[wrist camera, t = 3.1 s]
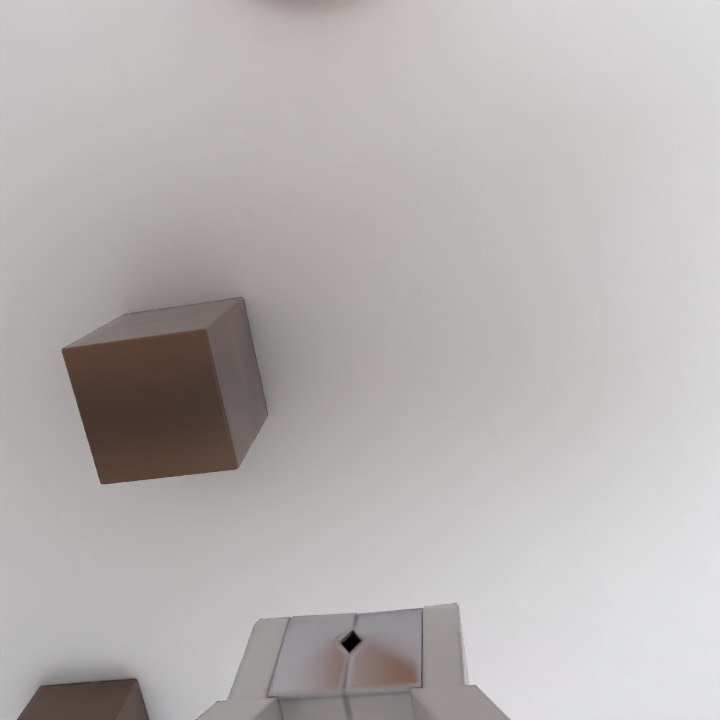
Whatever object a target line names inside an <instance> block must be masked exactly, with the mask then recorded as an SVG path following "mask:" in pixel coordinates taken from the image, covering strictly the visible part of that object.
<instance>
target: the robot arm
mask: <svg viewBox="0 0 720 720" xmlns="http://www.w3.org/2000/svg"><path fill="white" fill-rule="evenodd" d="M196 720H510V719H509V718H508V717H507V716H506V715H505V714H504V713H503V712H502V711H501V710H500V709H499V708H498V707H497V706H496V705H495V704H494V703H493V702H492V701H491V700H490V699H489V698H488V697H487V696H486V695H485V694H484V693H483V692H482V691H481V690H480V689H479V688H478V687H477V686H476V685H469V677H468V670H467V662H466V655H465V647H464V640H463V632H462V625H461V617H460V611H459V606H458V605H457V603H452V604H443V605H434V606H425V607H424V608H417V609H405V610H393V611H381V612H369V613H358V614H357V613H346V614H329V615H311V616H293V617H292V618H291V617H280V618H267V619H260V620H258V621H257V622H256V623H255V625H254V626H253V629H252V632H251V635H250V638H249V640H248V643H247V646H246V649H245V652H244V655H243V657H242V660H241V663H240V666H239V669H238V671H237V674H236V677H235V680H234V683H233V685H232V688H231V691H230V694H229V697H228V700H227V701H217V702H216V703H215V704H214V705H212V706H211V707H210V708H209V709H208V710H207V711H205V712H204V713H203V714H202V715H201V716H200V717H198V718H197V719H196Z"/></svg>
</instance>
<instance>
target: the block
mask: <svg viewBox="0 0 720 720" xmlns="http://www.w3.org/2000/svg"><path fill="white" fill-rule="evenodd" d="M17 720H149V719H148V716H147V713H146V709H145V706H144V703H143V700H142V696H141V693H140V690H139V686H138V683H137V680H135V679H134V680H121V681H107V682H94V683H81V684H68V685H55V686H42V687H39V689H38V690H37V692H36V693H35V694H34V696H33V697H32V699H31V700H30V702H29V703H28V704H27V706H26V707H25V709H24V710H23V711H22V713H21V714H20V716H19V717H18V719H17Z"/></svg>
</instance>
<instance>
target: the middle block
mask: <svg viewBox="0 0 720 720" xmlns="http://www.w3.org/2000/svg"><path fill="white" fill-rule="evenodd" d="M62 354H63V357H64V361H65V364H66V367H67V371H68V374H69V378H70V381H71V384H72V388H73V391H74V395H75V398H76V401H77V405H78V408H79V412H80V415H81V418H82V422H83V425H84V429H85V432H86V435H87V439H88V442H89V446H90V449H91V452H92V456H93V459H94V463H95V466H96V469H97V473H98V476H99V480H100V483H101V484H111V483H120V482H129V481H138V480H146V479H155V478H164V477H173V476H182V475H191V474H200V473H208V472H217V471H226V470H235V469H238V468H239V466H240V464H241V462H242V460H243V459H244V457H245V455H246V453H247V452H248V450H249V448H250V446H251V444H252V443H253V441H254V439H255V437H256V435H257V434H258V432H259V430H260V428H261V427H262V425H263V423H264V421H265V419H266V418H267V416H268V413H267V408H266V403H265V399H264V394H263V389H262V384H261V380H260V375H259V370H258V365H257V361H256V356H255V351H254V346H253V342H252V337H251V332H250V327H249V323H248V318H247V313H246V308H245V304H244V299H243V298H234V299H227V300H220V301H213V302H206V303H199V304H193V305H186V306H179V307H172V308H165V309H158V310H151V311H144V312H137V313H130V314H124V315H122V316H120V317H118V318H117V319H115V320H113V321H111V322H109V323H108V324H106V325H104V326H102V327H100V328H99V329H97V330H95V331H93V332H91V333H90V334H88V335H86V336H84V337H83V338H81V339H79V340H77V341H75V342H74V343H72V344H70V345H68V346H66V347H65V348H63V349H62Z"/></svg>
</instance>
